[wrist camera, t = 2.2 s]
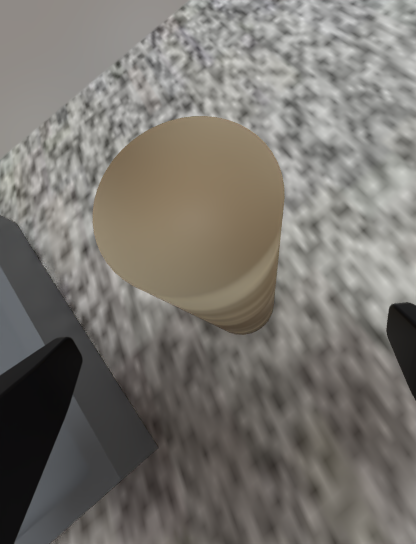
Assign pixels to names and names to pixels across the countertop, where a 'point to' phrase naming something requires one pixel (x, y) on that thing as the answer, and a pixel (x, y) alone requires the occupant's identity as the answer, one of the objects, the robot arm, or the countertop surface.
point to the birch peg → (196, 219)
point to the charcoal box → (84, 404)
